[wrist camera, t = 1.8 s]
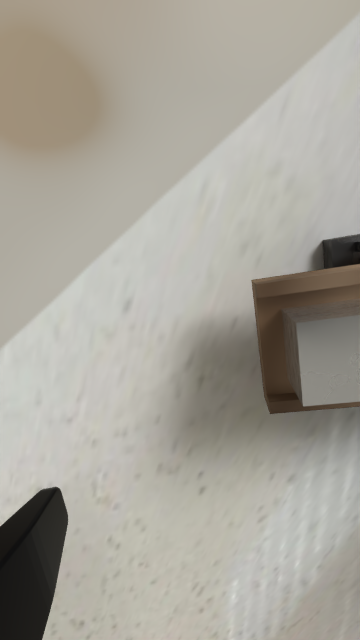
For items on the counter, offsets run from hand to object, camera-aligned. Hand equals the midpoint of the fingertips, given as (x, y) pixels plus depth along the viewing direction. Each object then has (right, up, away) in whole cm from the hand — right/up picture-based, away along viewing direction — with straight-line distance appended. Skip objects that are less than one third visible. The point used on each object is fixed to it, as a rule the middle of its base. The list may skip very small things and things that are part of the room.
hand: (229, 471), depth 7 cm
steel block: (+7, +3, +8) cm, 11 cm away
